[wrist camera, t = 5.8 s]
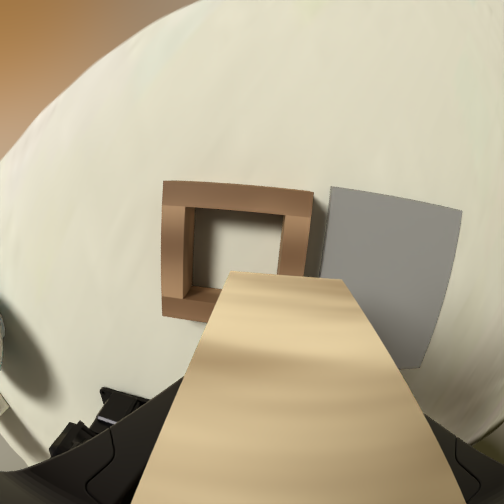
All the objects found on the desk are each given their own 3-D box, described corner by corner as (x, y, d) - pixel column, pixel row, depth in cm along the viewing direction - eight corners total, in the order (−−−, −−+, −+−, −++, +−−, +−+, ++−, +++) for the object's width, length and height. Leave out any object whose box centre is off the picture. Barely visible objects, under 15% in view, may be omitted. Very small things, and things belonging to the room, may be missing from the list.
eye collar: (292, 315, 21) (294, 331, 18) (173, 301, 21) (162, 315, 19) (308, 190, 19) (313, 192, 16) (176, 180, 19) (163, 180, 17)
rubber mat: (417, 364, 21) (419, 367, 21) (302, 364, 22) (302, 368, 21) (458, 209, 18) (462, 210, 17) (330, 186, 18) (332, 186, 18)
